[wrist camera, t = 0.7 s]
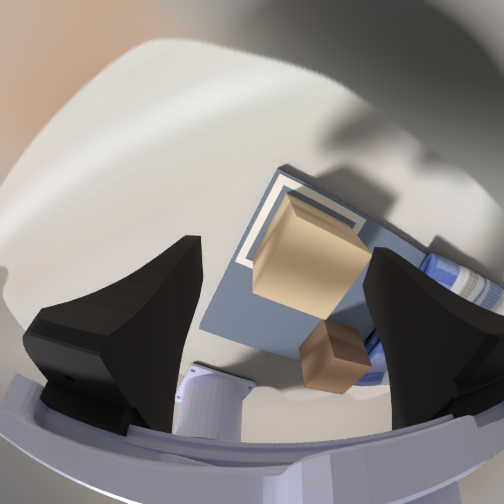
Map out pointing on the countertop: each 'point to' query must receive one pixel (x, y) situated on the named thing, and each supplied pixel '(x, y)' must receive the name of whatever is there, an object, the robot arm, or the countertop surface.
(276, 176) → the board
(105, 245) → the countertop surface
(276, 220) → the oak base block
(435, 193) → the countertop surface
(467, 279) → the dish towel
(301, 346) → the walnut block
